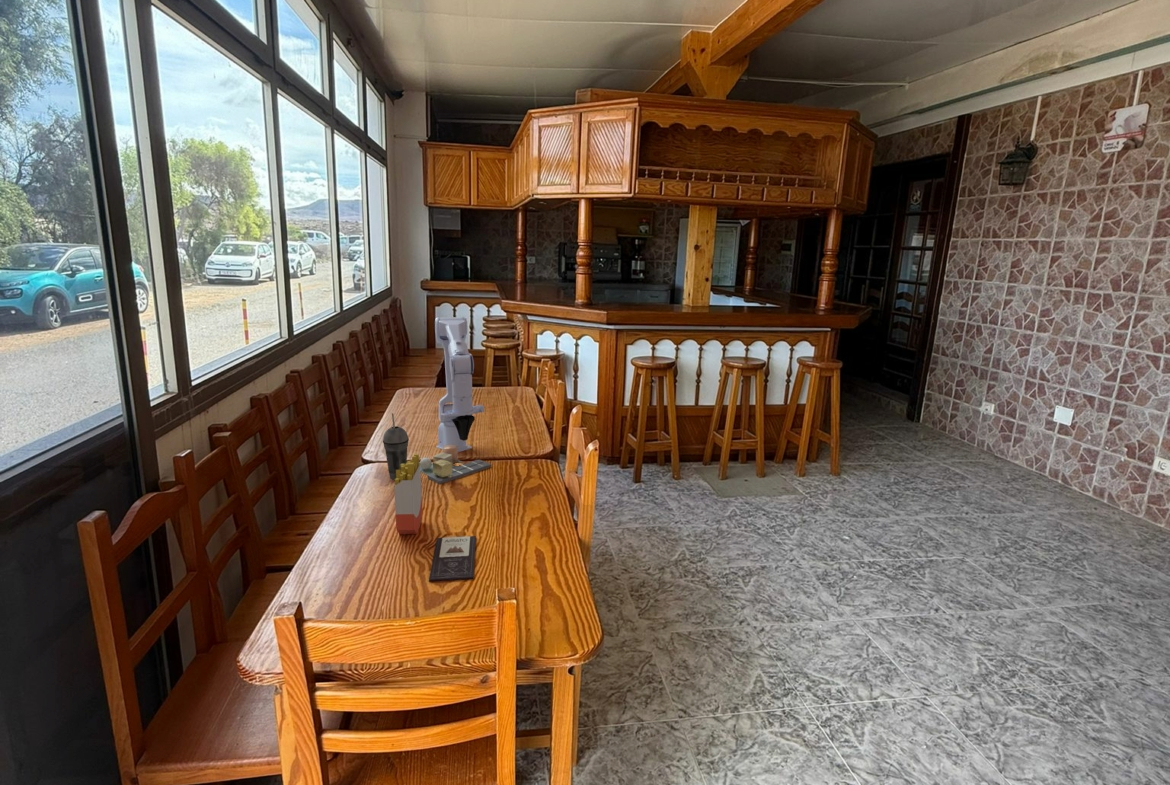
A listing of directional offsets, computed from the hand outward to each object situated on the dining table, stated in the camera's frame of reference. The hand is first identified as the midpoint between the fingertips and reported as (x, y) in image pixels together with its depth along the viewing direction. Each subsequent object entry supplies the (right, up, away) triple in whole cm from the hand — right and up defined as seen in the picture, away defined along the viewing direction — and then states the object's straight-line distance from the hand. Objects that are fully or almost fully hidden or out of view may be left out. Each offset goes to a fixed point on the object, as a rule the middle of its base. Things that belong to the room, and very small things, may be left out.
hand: (463, 439), depth 179 cm
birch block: (-7, -9, +5) cm, 12 cm away
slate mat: (-8, -9, +6) cm, 13 cm away
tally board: (-1, -10, +1) cm, 11 cm away
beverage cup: (-19, -11, -3) cm, 22 cm away
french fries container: (-6, -19, -34) cm, 39 cm away
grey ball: (-12, -9, +3) cm, 16 cm away
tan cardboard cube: (-5, -10, -4) cm, 12 cm away
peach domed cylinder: (-6, -8, +10) cm, 14 cm away
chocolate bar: (+7, -23, -46) cm, 53 cm away
